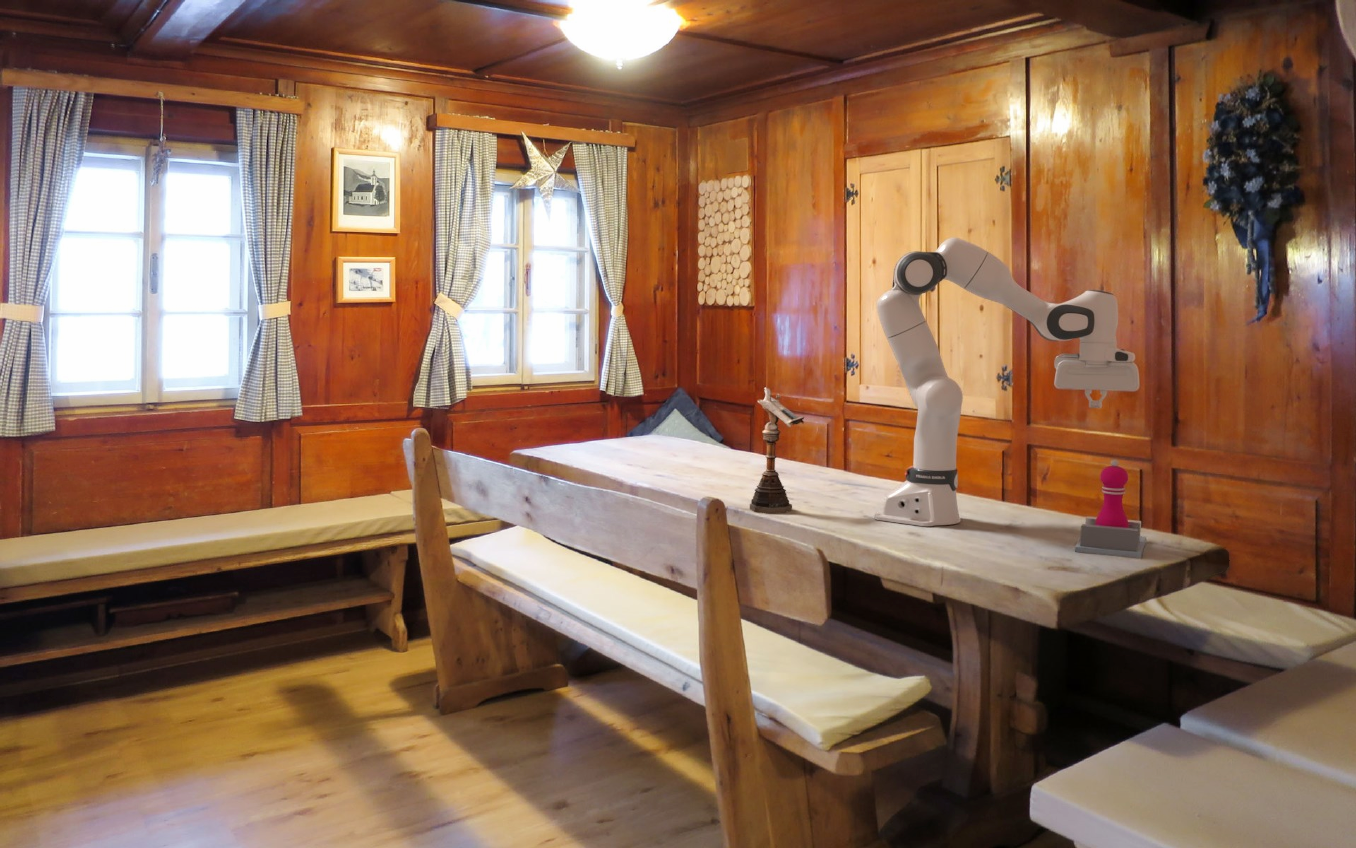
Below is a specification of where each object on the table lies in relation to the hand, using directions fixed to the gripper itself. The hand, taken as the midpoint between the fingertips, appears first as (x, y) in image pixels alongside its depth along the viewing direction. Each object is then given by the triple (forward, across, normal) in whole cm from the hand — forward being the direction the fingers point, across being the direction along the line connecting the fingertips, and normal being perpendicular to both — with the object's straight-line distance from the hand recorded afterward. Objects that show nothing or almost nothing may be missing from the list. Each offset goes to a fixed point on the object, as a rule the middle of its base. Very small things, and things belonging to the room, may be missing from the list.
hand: (1095, 407), depth 262 cm
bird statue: (+32, -80, -17) cm, 88 cm away
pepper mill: (+30, +7, -26) cm, 40 cm away
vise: (+31, +7, -23) cm, 39 cm away
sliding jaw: (+30, +7, -21) cm, 37 cm away
